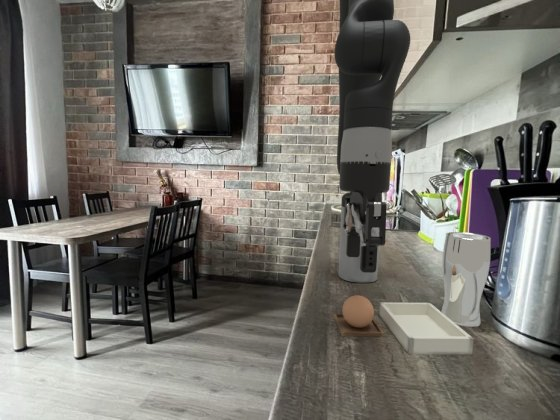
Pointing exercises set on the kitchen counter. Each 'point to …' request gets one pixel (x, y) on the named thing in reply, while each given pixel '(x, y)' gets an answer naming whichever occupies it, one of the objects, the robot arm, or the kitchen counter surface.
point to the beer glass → (464, 276)
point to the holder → (351, 331)
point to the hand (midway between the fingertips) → (359, 263)
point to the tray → (425, 329)
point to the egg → (358, 311)
